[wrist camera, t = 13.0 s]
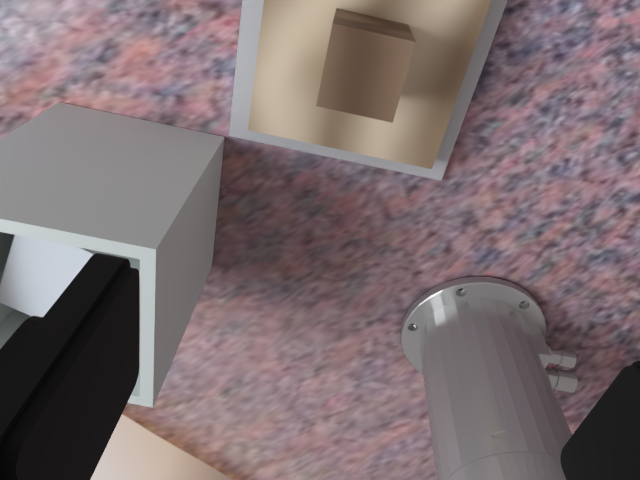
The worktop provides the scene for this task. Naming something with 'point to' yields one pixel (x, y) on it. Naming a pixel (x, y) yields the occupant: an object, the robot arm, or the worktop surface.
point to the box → (118, 212)
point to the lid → (364, 73)
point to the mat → (239, 129)
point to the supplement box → (42, 273)
